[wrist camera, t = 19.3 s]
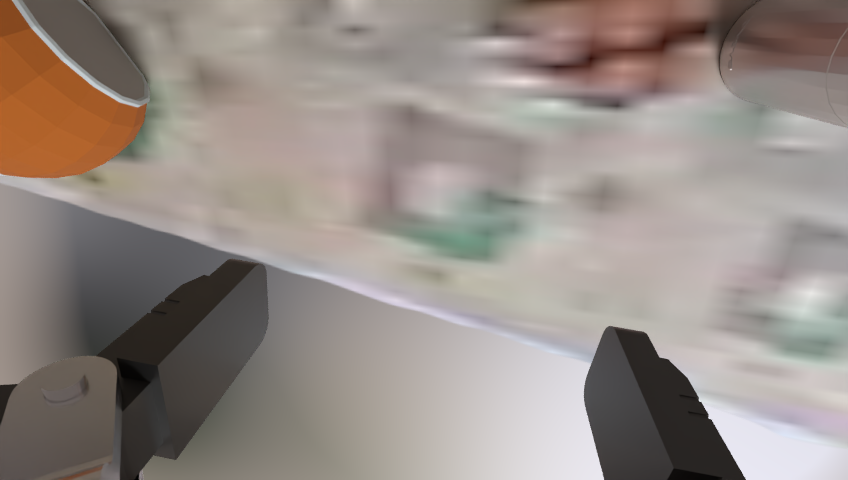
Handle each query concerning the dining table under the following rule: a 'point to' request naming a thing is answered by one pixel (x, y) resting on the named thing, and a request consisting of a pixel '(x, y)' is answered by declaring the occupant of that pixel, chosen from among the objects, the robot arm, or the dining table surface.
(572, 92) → the dining table surface
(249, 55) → the dining table surface
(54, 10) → the alarm clock
